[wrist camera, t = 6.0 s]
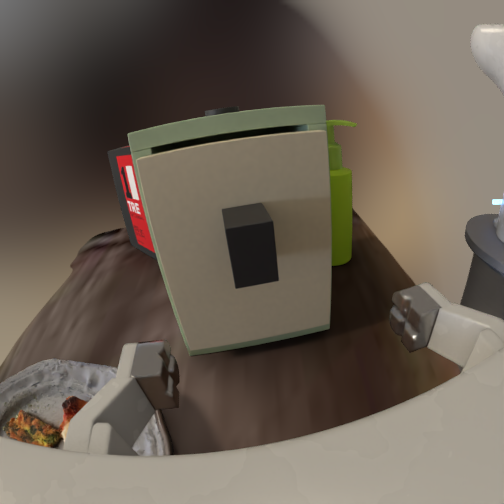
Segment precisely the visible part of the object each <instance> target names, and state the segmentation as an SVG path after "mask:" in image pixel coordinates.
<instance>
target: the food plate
mask: <svg viewBox="0 0 504 504" xmlns="http://www.w3.org/2000/svg"><path fill="white" fill-rule="evenodd" d="M117 369H118V368H116V367H111V366H108V367H107V366H105V365H103V366H102V365H97V364H90V363H89V364H88V363H84V362H76V361H67V360H62V361H61V360H60V359H59V360H57V359H51V360H46V361H41V362H38V363H36V364H34V365H32V366H29V367H27V368H26V369H25V370H23V371H21V372H19V373H18V374H16V375H13V376H11V377H10V378H8V379H6V380H5V381H4V382H2V383H1V384H0V436H2V437H5V438H9V439H13V440H16V441H21V442H25V443H29V444H34V445H39V446H44V447H50V448H55V449H62V450H63V447H64V443H65V439H66V434H67V431H68V427H69V423H70V420H71V419H72V418H73V417H74V416H75V415H76V414H77V413H78V412H79V411H80V410H81V409H82V408H83V407H84V406H85V405H86V404H87V403H88V402H89V401H90V400H91V399H92V398H93V397H94V396H95V395H96V394H97V393H98V392H99V391H100V390H101V389H102V388H103V387H104V386H105V385H106V384H107V383H108V382H109V381H110V380H111V379H112V378H116V374H117ZM155 411H156V412H155V413H154V415H153V416H152V418H151V419H150V421H149V422H148V424H147V425H146V427H145V428H144V430H143V431H142V433H141V434H140V436H139V437H138V439H137V440H136V442H135V443H134V445H133V446H132V449H133V450H134V451H135V452H136V453H137V454H138V455H140V456H168V455H174V454H173V446H172V443H171V442H172V441H171V438H170V435H169V433H168V430H167V427H166V425H165V423H164V419H163V416H162V412H161V411H162V410H155Z"/></svg>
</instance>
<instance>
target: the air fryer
mask: <svg viewBox="0 0 504 504" xmlns="http://www.w3.org/2000/svg"><path fill="white" fill-rule="evenodd" d="M205 114H206V117H201V118H195V119H190V120H185V121H180V122H175V123H170V124H165V125H161V126H156V127H152V128H149V129H144V130H140V131H136V132H132V133H128V139H129V144H130V150H131V152H132V153H131V154H132V159H133V164H134V169H135V174H136V178H137V183H138V187H139V191H140V195H141V200H142V204H143V208H144V212H145V216H146V220H147V224H148V227H149V231H150V235H151V238H152V242H153V246H154V249H155V253H156V256H157V260H158V263H159V266H160V270H161V273H162V276H163V279H164V283H165V286H166V289H167V292H168V295H169V298H170V301H171V304H172V307H173V310H174V313H175V316H176V319H177V322H178V325H179V327H180V330H181V333H182V336H183V339H184V341H185V344H186V347H187V349H188V352H189V355H190V356H193V355H200V354H207V353H213V352H219V351H225V350H231V349H237V348H243V347H248V346H254V345H259V344H264V343H269V342H274V341H279V340H283V339H288V338H293V337H297V336H301V335H306V334H310V333H314V332H318V331H323V330H327V329H330V321H329V324H326V325H322V326H318V327H314V328H309V329H305V330H301V331H296V332H292V333H287V334H282V335H278V336H273V337H268V338H263V339H258V340H252V341H247V342H241V343H236V344H230V345H224V346H218V347H212V348H205V349H199V350H192V351H191V350H190V348H189V345H188V343H187V340H186V337H185V334H184V331H183V329H182V326H181V323H180V320H179V317H178V314H177V311H176V308H175V305H174V302H173V299H172V296H171V293H170V289H169V286H168V283H167V280H166V276H165V273H164V270H163V266H162V263H161V260H160V256H159V253H158V249H157V245H156V242H155V238H154V234H153V231H152V227H151V223H150V219H149V215H148V211H147V207H146V203H145V199H144V195H143V190H142V186H141V182H140V177H139V172H138V168H137V163H136V160H137V159H138V158H140V157H144V156H148V155H152V154H157V153H161V152H166V151H170V150H175V149H180V148H185V147H190V146H195V145H201V144H207V143H212V142H218V141H225V140H231V139H238V138H245V137H253V136H261V135H269V134H278V133H288V132H300V131H313V130H324V131H326V134H327V125H326V114H325V105H308V106H291V107H278V108H267V109H257V110H249V111H240V112H239V107H237V106H236V107H227V108H220V109H214V110H209V111H205ZM327 147H328V137H327ZM328 162H329V151H328ZM329 181H330V167H329ZM330 207H331V187H330ZM331 279H332V220H331ZM330 311H331V295H330Z"/></svg>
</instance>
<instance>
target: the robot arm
mask: <svg viewBox="0 0 504 504" xmlns="http://www.w3.org/2000/svg"><path fill="white" fill-rule="evenodd" d="M471 50H472V54H473V57H474V59H475V61H476V63H477V65H478V66H479V68H480V69H481V70H482V71H483V72H484V73H485V74H486V75H487V76H488V77H489V78H490V79H491V80H492V81H493V82H494V83H495V84H496V85H497V87H498V88H499V89H500V91H501V92H502V94H503V95H504V25H502V24H481V25H477V26H476V27H475V29H474V30H473V32H472V35H471ZM492 204H501V209H500V213H499V217H498V218H495V219H494V222H493V224H494V226H495V227H496V235H497V237H498V238H499V239H500V240H501V241H502V242H503V243H504V195H503V199H502V200H493V202H492ZM392 302H393V304H394V306H393V308H392V309H391V310H390V315H389V321H390V325H391V328H392V330H393V331H394V333H395V334H397V335H399V336H402V338H401V342H402V343H403V345H404V346H405V347H406V349H407V350H408V351H409V353H411V352H413V351H416V350H419V349H421V348H424V347H427V348H429V349H431V350H433V351H435V352H436V353H438V354H440V355H442V356H444V357H445V358H447V359H449V360H451V361H453V362H454V363H456V364H458V365H460V366H462V367H463V369H462V371H461V373H460V375H458V376H456V377H454V378H452V379H451V380H449V381H447V382H445V383H443V384H441V385H439V386H437V387H435V388H433V389H431V390H429V391H427V392H425V393H423V394H421V395H419V396H416V397H414V398H412V399H410V400H408V401H405V402H403V403H401V404H398V405H396V406H394V407H391V408H389V409H386V410H384V411H381V412H378V413H376V414H373V415H370V416H368V417H365V418H362V419H359V420H356V421H353V422H351V423H347V424H344V425H341V426H338V427H335V428H331V429H328V430H325V431H321V432H318V433H314V434H310V435H306V436H302V437H298V438H294V439H290V440H285V441H281V442H276V443H271V444H266V445H261V446H255V447H249V448H243V449H236V450H228V451H220V452H211V453H201V454H188V455H168V456H140V455H138V454H137V453H136V452H135V451H134V450H133V449H132V446H133V445H134V443H135V442H136V440H137V439H138V437H139V436H140V434H141V433H142V431H143V430H144V428H145V427H146V425H147V424H148V422H149V421H150V419H151V418H152V416H153V415H154V413H155V412H156V411H155V410H162V409H172V408H179V391H178V389H177V387H176V386H177V385H178V383H179V368H178V365H177V361H176V359H175V357H174V356H172V355H171V354H170V353H171V347H170V345H169V343H168V341H167V340H158V341H148V342H139V343H128V344H125V345H124V346H123V350H122V354H121V357H120V361H119V365H118V369H117V374H116V378H112V379H111V380H110V381H109V382H108V383H107V384H106V385H105V386H104V387H103V388H102V389H101V390H100V391H99V392H98V393H97V394H96V395H95V396H94V397H93V398H92V399H91V400H90V401H89V402H88V403H87V404H86V405H85V406H84V407H83V408H82V409H81V410H80V411H79V412H78V413H77V414H76V415H75V416H74V417H73V418H72V419H71V420H70V423H69V427H68V431H67V434H66V439H65V443H64V447H63V450H62V449H55V448H50V447H44V446H39V445H34V444H29V443H25V442H21V441H16V440H13V439H9V438H5V437H2V436H0V504H504V321H503V320H502V319H501V318H498V317H495V316H492V315H489V314H486V313H483V312H480V311H477V310H474V309H471V308H468V307H465V306H462V305H459V304H456V303H453V304H451V303H450V302H449V301H448V300H447V299H446V298H445V297H444V296H443V295H442V294H441V293H440V292H439V291H438V290H436V289H435V288H434V287H433V286H432V285H431V284H430V283H427V282H425V283H422V284H419V285H416V286H413V287H410V288H407V289H404V290H400V291H397V292H395V293H394V295H393V298H392Z"/></svg>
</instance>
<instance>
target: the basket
mask: <svg viewBox="0 0 504 504" xmlns="http://www.w3.org/2000/svg"><path fill="white" fill-rule="evenodd" d="M136 163H137V168H138V172H139V177H140V182H141V186H142V190H143V195H144V199H145V203H146V207H147V211H148V215H149V219H150V223H151V227H152V231H153V234H154V238H155V242H156V245H157V249H158V253H159V256H160V260H161V263H162V266H163V270H164V273H165V276H166V280H167V283H168V286H169V289H170V293H171V296H172V299H173V302H174V305H175V308H176V311H177V314H178V317H179V320H180V323H181V326H182V329H183V331H184V334H185V337H186V340H187V343H188V345H189V348H190V350H191V351H192V350H199V349H205V348H212V347H218V346H224V345H230V344H236V343H241V342H247V341H252V340H258V339H263V338H268V337H273V336H278V335H282V334H287V333H292V332H296V331H301V330H305V329H309V328H314V327H318V326H322V325H326V324H329V321H330V295H331V207H330V181H329V162H328V147H327V134H326V131H324V130H313V131H300V132H288V133H278V134H269V135H261V136H253V137H245V138H238V139H231V140H225V141H218V142H212V143H207V144H201V145H195V146H190V147H185V148H180V149H175V150H170V151H166V152H161V153H157V154H152V155H148V156H144V157H140V158H138V159H137V160H136Z"/></svg>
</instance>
